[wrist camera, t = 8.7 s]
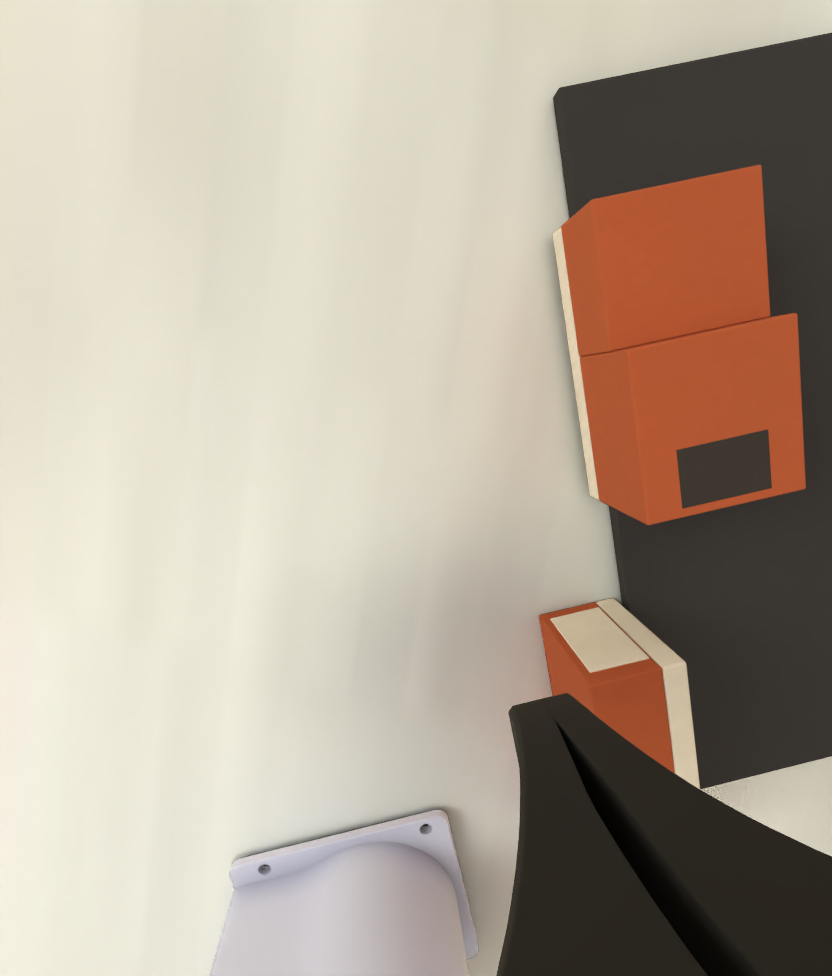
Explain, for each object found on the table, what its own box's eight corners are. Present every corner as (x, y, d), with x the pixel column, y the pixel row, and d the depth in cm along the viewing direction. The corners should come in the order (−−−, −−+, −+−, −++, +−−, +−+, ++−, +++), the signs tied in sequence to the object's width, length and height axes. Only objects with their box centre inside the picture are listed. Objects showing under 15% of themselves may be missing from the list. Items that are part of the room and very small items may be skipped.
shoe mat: (647, 790, 23) (655, 802, 22) (552, 97, 17) (559, 85, 16) (877, 733, 23) (892, 742, 22) (863, 34, 17) (881, 20, 17)
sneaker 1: (549, 809, 22) (598, 928, 18) (513, 618, 20) (557, 692, 16) (639, 786, 23) (713, 898, 18) (613, 595, 21) (688, 661, 16)
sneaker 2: (647, 526, 15) (808, 489, 15) (606, 182, 13) (792, 143, 13) (589, 496, 19) (716, 467, 19) (551, 231, 17) (693, 201, 17)
